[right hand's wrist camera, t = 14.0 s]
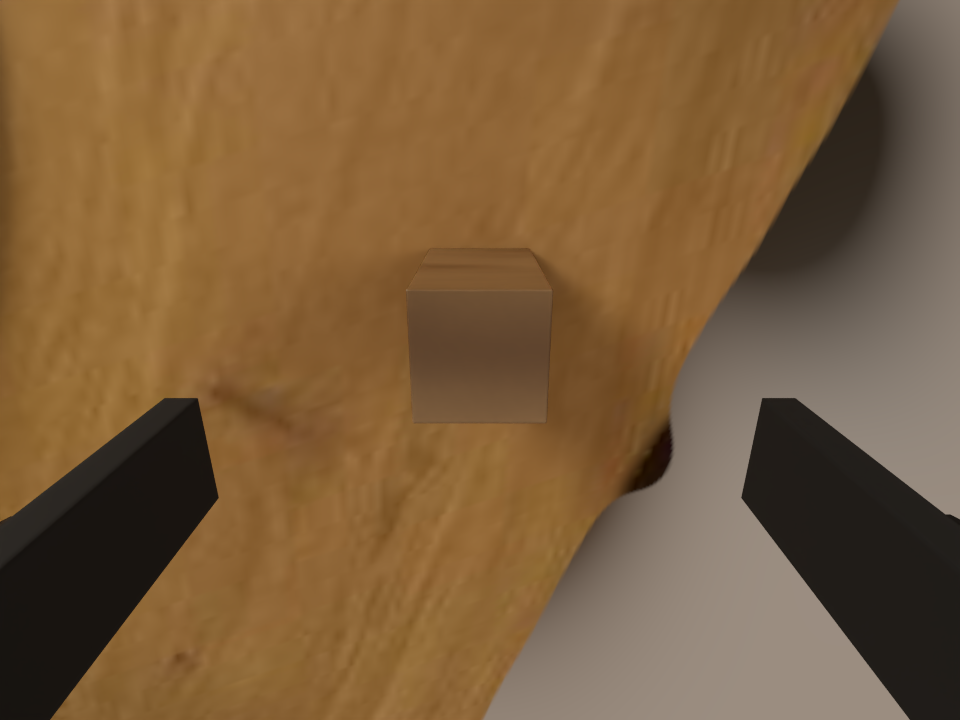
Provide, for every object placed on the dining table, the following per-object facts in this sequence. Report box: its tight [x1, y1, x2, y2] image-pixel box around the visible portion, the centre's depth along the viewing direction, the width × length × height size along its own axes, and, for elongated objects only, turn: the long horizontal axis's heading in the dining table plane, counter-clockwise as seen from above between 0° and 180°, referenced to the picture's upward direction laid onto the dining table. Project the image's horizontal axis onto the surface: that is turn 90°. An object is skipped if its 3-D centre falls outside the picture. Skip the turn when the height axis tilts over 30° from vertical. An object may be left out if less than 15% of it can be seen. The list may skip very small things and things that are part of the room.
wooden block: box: [406, 249, 553, 423], centre depth 22 cm, size 5×5×9 cm
